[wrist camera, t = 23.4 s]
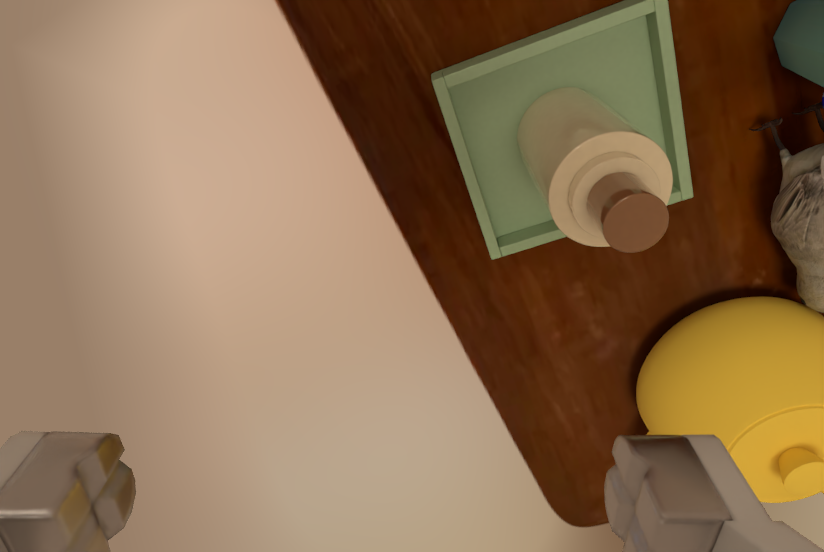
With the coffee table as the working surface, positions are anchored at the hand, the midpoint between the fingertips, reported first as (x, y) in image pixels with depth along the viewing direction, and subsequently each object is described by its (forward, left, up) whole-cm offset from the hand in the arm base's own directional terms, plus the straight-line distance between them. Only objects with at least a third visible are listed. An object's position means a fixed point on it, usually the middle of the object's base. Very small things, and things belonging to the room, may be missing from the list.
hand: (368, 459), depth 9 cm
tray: (+9, -7, -33) cm, 35 cm away
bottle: (+9, -7, -32) cm, 34 cm away
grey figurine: (+24, -18, -33) cm, 45 cm away
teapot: (+17, -34, -33) cm, 51 cm away
